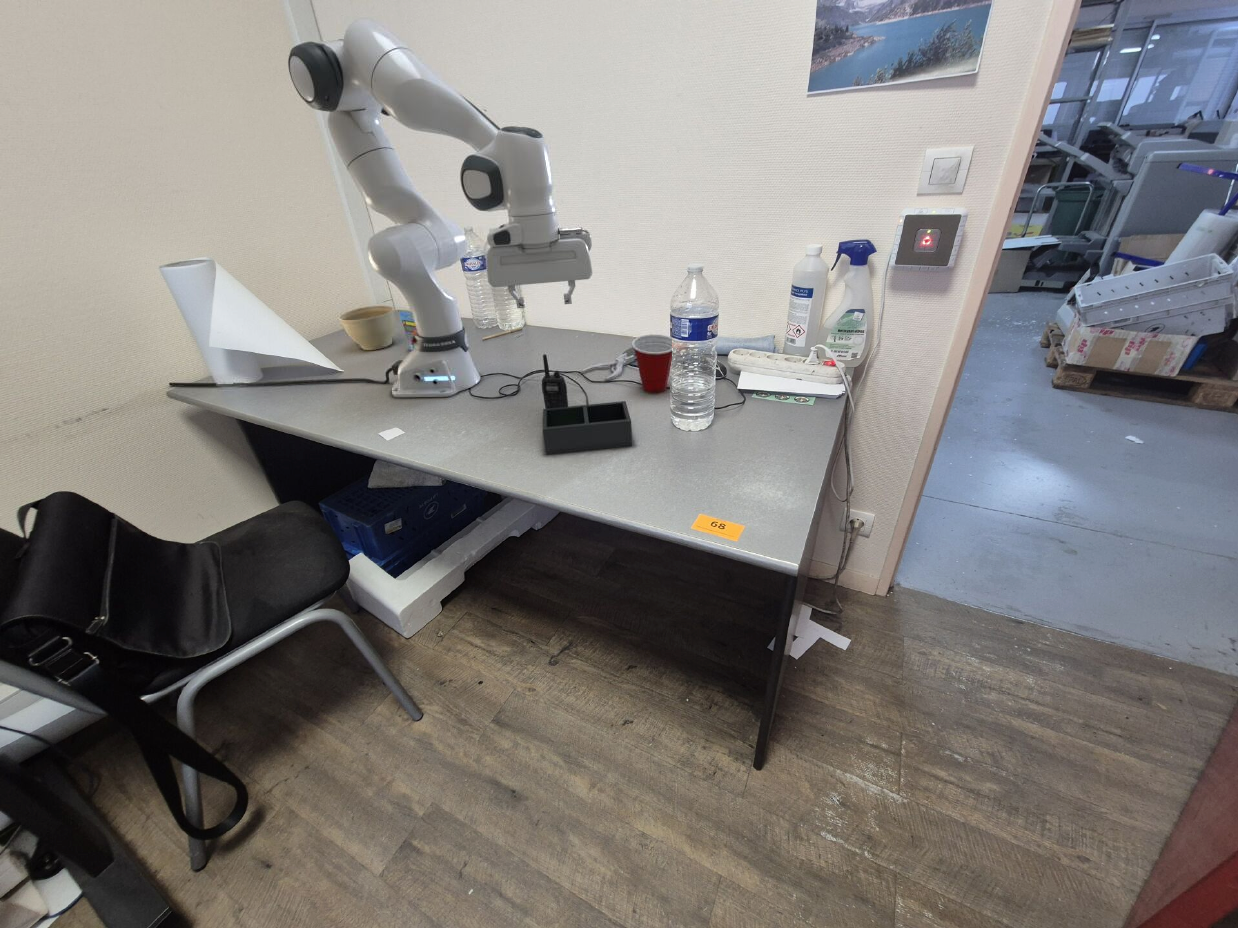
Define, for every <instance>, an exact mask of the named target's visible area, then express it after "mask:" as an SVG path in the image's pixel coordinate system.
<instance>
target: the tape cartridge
mask: <svg viewBox="0 0 1238 928" xmlns="http://www.w3.org/2000/svg"><path fill="white" fill-rule="evenodd" d="M398 312H399V316H400V320H401V322H402V325H403V329H404V332H405V335H406V339H407V343H408V346H409V350H410V351H412V350H413V349H414V347H413V345H411V342H410V341H411V337H412V336H413V335H412V334H413V332H414V331H415V330H417V329H416V326H415V322H414V319H413V316H412V313H411V312H406V311H400V310H398ZM409 317H411V318H409Z"/></svg>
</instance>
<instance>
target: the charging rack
mask: <svg viewBox="0 0 1238 928" xmlns="http://www.w3.org/2000/svg"><path fill="white" fill-rule="evenodd" d="M541 427H542V429H541V430H542V436H543V437H542V438H543V443H544V450H545V455H546V456H547V455H558V454H568V453H576V452H585V451H595V450H606V449H607V450H608V449H615V448H626V447H633V432H632V431H633V430H632V428H633V427H632V419H631V415H630V412H629V409H628V405H627V401H626V400H622V401H612V402H601V403H591V404H582V405H581V404H579V405H568V407H558V408H548V409H545V408H543V409H542V426H541Z"/></svg>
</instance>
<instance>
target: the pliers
mask: <svg viewBox="0 0 1238 928" xmlns="http://www.w3.org/2000/svg"><path fill="white" fill-rule="evenodd" d="M635 358H636V357H635V355H634V354H633V355H629V356H628V353H627V352H624V353H622V354H620V355H619V356H617V357H615V360H614V361H610V362H602V363H596V364H593V365H590V366H587V367H585V368H583V369H581V371H580V373H581V375H582V374H585V373H587V372H590V371H594V370H609V369H610V368H611V374H610V375H608V376H607V377H605V382H609V381H611V380H613V379H615V378H617V377H619V376H620V374H621V373H622V371H623V367H624V366H627V365H629V364H631V363H633V362H635ZM614 366H616V369H615V368H614Z"/></svg>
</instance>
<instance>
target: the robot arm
mask: <svg viewBox="0 0 1238 928" xmlns="http://www.w3.org/2000/svg"><path fill="white" fill-rule="evenodd" d="M289 51H290V52H289V55H288V60H287V65H288V66H287V67H288V73H289V76H290V79H291V81H292V84H293V86H294V88H295V90H296V92H297V94H298V95H299V97H300V98H301V100H303V101H304V102H305V104H307V106H309V107H310V108H312V109H314V110H317V111H322V112H328V115H327V120H326V121H327V122H326V123H327V127H328V130H329V133H330V136H331V139H332V140H333V143H334V145H335V148H336V150H337V152H338V154H339V156H340V159H341V161H342V162H343V164H344V166H345V168H346V170H347V171H348V173H349V175H350V177H351V179H352V181H353V182H354V184H355V186H356V187H357V189H358V191H359V192H360V195H361V196H362V198H363V199H364V201H365V203H366V204H367V206H368V207H369V208H370V209H372V211H374V212H376V213H379V214H381V215H383V216H385V217H386V218H388V219H389V220H391V221H392V223H394V224H395V225H393V226H388V227H386V228H384V229H382V230H379V231H378V232H376V233H375V234H373V235H372V236H371V237H370V238H369V239H368V241H367V247H366V252H367V258H368V261H369V263H370V265H371V266H372V268H373V269H374V271H375V272H376V273H377V274H378V275H379V276H380V277H382V278H383V279H384V280H387V281H389V282H391V283H392V284H393V285H394V286H395V287H396V288H397V289H398V290H399V291H400V293H401V295H403V297H404V298H405V301H406V302H407V304H408V307H409V309H410V313H412V316H413V318H412V319H414V322H415V326H416V329H417V330H415V331H414V332H413V334H412V335H413V336H412V337H411V341H410V342H411V345H413V347H414V349H413V350H410V352H409V353H408V354H407V355H406V356H405V358H404V359H398V360H397V361H396V362H395V363H393V364H391V366H390V367H389V368H388V369H387V370H386V371H385V375H384V376H385V380H383V381H378V380H374V379H370V378H365V377H364V378H361V377H359V378H358V377H357V378H356V377H355V378H323V379H299V380H273V381H249V382H250V383H244V382H232V383H233V384H217V383H218V382H168V385H169V386H171V387H174V386H175V387H238V386H240V387H242V386H243V387H244V386H245V387H246V386H270V385H271V386H272V385H295V384H318V383H319V384H321V383H350V382H351V383H352V382H362V383H363V382H365V383H369V384H377V385H385V384H388V383H389V382H390V373H391V372H392V374H393V375H394V376H397V380H396V381H395V382H394V384H393V385H392V387H391V394H392V396H393V397H394V398H448V397H452V396H453V395H455V394H457V393H459V392H462V391H464V390H467V389H469V388H472V387H474V386H475V385H477V384H478V383H479V382H480V380H481V375H480V374H479V372H478V370H477V367H476V366H475V364H474V361H473V359H472V356H471V353H470V350H469V349H470V343H469V338H468V333H467V331H466V329H465V326H464V325H463V322H462V318H461V313H460V309H459V303H458V299H457V298H456V296H455V295H454V293H453V292H451V291H449V290H447V289H445V288H443V287H442V286H441V285H440V283H439V282H438V280H437V277H436V274H435V272H436V271H440V270H443V269H446V268H449V267H451V266H453V265H454V264H456V263H458V262H459V261H460V260H462V259H463V258H464V257H465V255H466V253H467V247H468V246H467V243H468V242H467V239H466V235H465V233H464V231H463V230H462V228H461V227H460V225H459V224H458V223H457V222H455V221H453V220H451V219H449V218H448V217H446V216H444V215H443V214H442V213H440V212H439V211H438V210H437V209H435V208H434V206H433V205H431V203H430V202H429V201H428V200H427V199H426V198H425V196H424V195H423V194H422V193H421V192H420V191H419V189H418V188H417V187H416V185H415V184H414V183H413V181H412V178H411V177H410V176H409V174H408V172H407V170H406V169H405V167H404V165H403V163H402V161H401V159H400V158H399V155H398V153H397V151H396V150H395V148H394V146H393V145H392V143H391V141H390V139H389V138H388V136H387V134H386V133H385V130H384V129H383V126H382V125H383V124H382V121H381V117H382V115H384V116H386V117H392V118H393V119H394V120H395V121H397V122H398V123H400V124H401V125H403V127H406V128H408V129H410V130H412V131H418V132H423V133H431V134H436V135H441V136H447V137H451V138H454V139H456V140H459V141H462V142H463V143H465V144H467V145H468V146H470V147H471V148H472V149H473V150H475V151H476V152H475V153H473V154H469V155H468V156H467V157H465V158H464V160H463V162H462V164H461V167H460V173H459V178H460V179H459V181H460V186H461V190H462V193H463V195H464V197H465V198H466V201H468V204H470V205H471V206H472V208H475V209H476V210H477V211H481V212H486V213H491V212H496V211H497V212H498V211H505V210H507V217H508V222H507V223H503V224H501V225H500V226H498V227H495V228H493V229H491V230H490V231H489V232H488V233H487V235H486V241H487V245H488V246H489V248H488V250H487V251H486V255H485V269H486V270H485V271H486V278H487V282H488V284H489V285H490V286H491V287H492V288H500V287H507V289H508V293H509V294H510V295H511V296H512V298H513V299H514V300H515V303H516V308H517V309H525V307H526V303H525V297H523V296H519V294H518V293H517V286H523V285H535V284H536V285H537V284H547V283H548V284H549V283H560V282H567V285H568V287H569V289H568V291H567V292H566V293H563V301H564V303H563V304H564V305H572V304H573V302H572V295H573V293H574V291H575V289H576V281H584V280H585V281H586V280H590V279H591V277H592V275H593V266H592V261H591V256H590V251H591V249H592V236H591V234H590V232H589V231H588V230H586V229H584V228H583V227H581V226H577V227H565V228H564V227H561V228H559V223H558V222H559V221H558V215H557V207H556V205H555V202H554V198H553V191H554V178H553V170H552V163H551V158H550V152H549V149H548V145H547V142H546V140H545V137H544V135H543V134H542V133H541V132H540V131H539V130H537V129H535V128H531V127H526V126H518V125H517V126H516V125H515V126H513V125H512V126H511V125H510V126H503V127H502V128H500V127H499V125H497V124H496V123H495V122H494V121H493V120H492V119H490V118H489V117H488V116H487V115H486V114H485V113H484V112H483V111H482V110H481V109H479V107H478V106H476V105H475V104H473V103H472V102H471V101H470V100H468V99H467V98H466V97H465V96H463V95H462V94H461V93H459V92H458V91H457V90H456V89H454V88H453V87H452V86H451V85H449V84H448V83H447V82H445V81H444V80H443V79H442V78H441V77H440V76H439V75H438V74H437V73H435V72H434V70H432V68H430V67H429V66H428V65H427V64H426V63H425V62H424V61H422V59H421V58H420V57H419V56H418V55H417V54H416V53H415V52H414V51H413V50H412V49H411V48H410V46H408V45H407V44H406V43H405V42H404V41H403V40H402V39H400V38H399V37H398V36H397V35H396V34H395V33H394V32H392V31H391V30H390V29H388V28H387V27H386V26H384V25H383V24H381V23H380V22H379V21H376V20H374V19H372V18H365V17H364V18H358V19H356V20H354V21H353V22H351V23H350V24H349V25H348V26H347V28H346V30H345V33H344V36H343V39H342V38H339V39H337V40H335V39H334V40H326V41H325V40H323V41H318V42H316V41H315V42H314V41H306V42H302V43H299V44H297V45H295V46H292V48H291V50H289Z"/></svg>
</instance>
